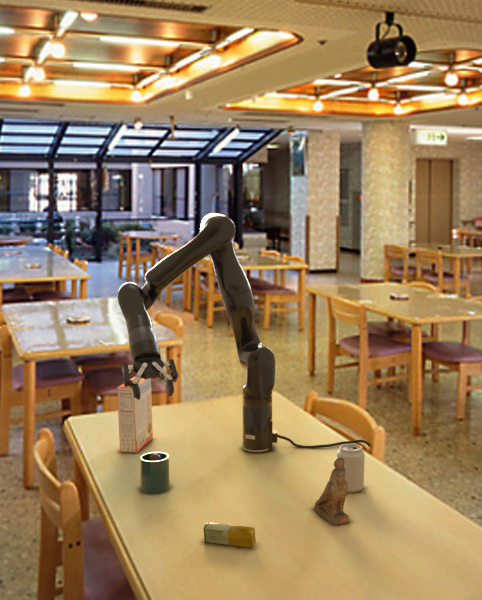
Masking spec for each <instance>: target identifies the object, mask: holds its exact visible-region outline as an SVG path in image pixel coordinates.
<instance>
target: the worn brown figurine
mask: <svg viewBox="0 0 482 600" xmlns="http://www.w3.org/2000/svg"><path fill="white" fill-rule="evenodd" d="M344 462H345V460H344V459H343V458H338V459H337V458H336V459H335V460H334V462H333V467H334V468H333V469H332V471H331V473H330V477H329V480H328V481H327V483H326V484H325V487H324V490H323V491H322V493H321V495H320V496H319V498H318V499H317V500H315V503H314V507H313V510H314V511H315V512H316V513H317V514H319V516H320V517H322V518H323V519H325V520H326V522H328V523H330V525H333V526H339V525H343V524H348V523H350V517H349V515H348V514H347V513H345V512H344V507H345V502H346V498H347V496H348V484H347V482H346V480H345V472H346V471H345V468H344Z"/></svg>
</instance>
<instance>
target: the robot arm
mask: <svg viewBox="0 0 482 600" xmlns="http://www.w3.org/2000/svg"><path fill="white" fill-rule="evenodd" d="M199 230H200V231H199V232H198V234H197V235H196V236H195V237H194V238H192V239H191V240H190V241H188V242H187V243H186V244H185V245H183V246H182V247H180V248H179V249H177V250H175V251H173V252H172V253H170V254H169V255H167V256H165V257H164V258H162V259H161V260H160V261H159V262H157V263H156V264H155V265H154V266H153V267H151V269H149V270H148V271H147V272H146V273H145V274H144V280H145V283H144V285H143V286H142V287H140V286H139V285H138V284H137V283H135V282H132V281H131V282H130V281H129V282H125V283H123V284H122V285H120V287H119V288H118V291H117V295H116V296H117V297H116V299H117V302H118V306H119V308H120V311H121V313H122V316H123V318H124V320H125V324H126V330H127V335H128V346H129V349H130V355H131V359H132V364H128V363H127V362H126V363H123V364H122V369H121V371H122V379H123V384H124V386H125V387H128V386H129V387H131V388H132V390H133V395H134V397H135V398H137V400H139V399H140V391H139V386H138V383H139V382H140V380H141V379H142V378H144V379H149V378H151V379H157V378H158V380H160V381H163V382H164V383H165V386H166V387H165V388H166V391H167V395H168V397H172V396H173V394H174V392H175V388H174V387H175V386H174V383H176V382H177V381H178V378H179V373H178V369H177V367H176V364H175V360H174V359H172V358H170V359H169V360H167V361H163V359H162V357H161V351H160V347H159V342H158V339H157V335H156V333H155V330H154V326H153V320H152V318H151V315H150V313H149V312H148V311H149V309H150V308H151V307H152V306H153V305H154V304H155V302H156V301H157V300H158V299H159V297H160V296H161V295H162V293H163V291H164V290H166V289H167V288H168V287H170V286H171V285H172V284H174V282H176V281H177V280H178V279H179V278H180V277H182V276H183V275H184V274H185V273H186V272H188V271H189V270H190V269H191V268H192V267H194V266H195V265H197V263H199V262H201V261H202V260H203V259H204V258H206V257H208V256H210V258H211V262H212V264H213V269H214V274H215V279H216V282H217V285H218V290H219V294H220V296H221V297H220V298H221V299H222V304H223V306H224V307H223V308H224V310H225V313H226V315H227V319H228V321H229V324H230V327H231V330H232V333H233V336H234V341H235V346H236V351H237V356H238V362H239V363H240V365H241V367H242V368H243V369H244V370H245V371H246V383H245V384H244V385H243V386H242V450H243V451H245V452H248V453H256V454H257V453H266V452H270V451H273V444H276V443H277V444H278V438H279V439H282V440H285V441H287V442H288V443H290V444H291V445H292V446H294V447H295V448H302V449H319V448H331V447H335V446H341V445H343V444H357V443H358V444H359V443H364V444H366V446H372V445H371V443H370V442H369V441H367V440H365V439H354V440H345V441H339V442H334V443H326V444H315V445H314V444H313V445H304V444H303V445H302V444H299V443H296V442H295V441H293V440H292V439H291V438H289V437H287V436H284V435H280V434H278V429H277V428H273V390H274V388H275V384H276V383H275V382H276V357H275V353H274V351H273V350H272V349H270V348H269V347H268V346H266V345H263V343H262V341H261V339H260V337H259V334H258V331H257V328H256V323H255V322H256V321H255V318H256V317H255V316H256V314H255V313H256V310H255V309H256V305H255V303H256V302H255V298H254V294H253V292H252V287H251V285H250V281H249V279H248V278H247V275H246V273H245V271H244V269H243V267H242V265H241V263H240V261H239V259H238V257H237V254H236V251H235V249H234V244H233V239H234V238H235V236H236V225H235V222H234V221H233V220H232V219H231V218H230V217H228V216H227V215H224V214H222V213H219V212H218V213H217V212H211V213H208V214H206V215H205V216H204V217H203V218H202V220H201V223H200V228H199ZM164 367H165V368H166V369H167V370H168V371H169V373H168V372H167V370H165V368H164ZM132 371H133V372H134V373H135V375H134V376H135V378H134V380H130V379H131V378H130V374H131V372H132Z"/></svg>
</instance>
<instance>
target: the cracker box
mask: <svg viewBox="0 0 482 600" xmlns="http://www.w3.org/2000/svg"><path fill="white" fill-rule="evenodd" d="M135 376H136V375H134V376H133V377H131V378H130V380H134V378H135ZM138 386H139V391H140V399H139V400H137V398H135V397H134V395H133V390H132V388H131V387H129V386H128V387H125V386H124V383H122V384H121V385H119V386H117V387H116V393H117V412H118V413H117V414H118V416H117V417H118V436H119V437H118V438H119V453H134V454H137V453H138V452H140V450H142V449H143V448H145V446H146V445H147V444H149V443H150V442H151V441H152V440H153V439H154V431H153V402H152V399H153V398H152V378H149V379H144V378H142V379H141V380H140V382H139V383H138Z"/></svg>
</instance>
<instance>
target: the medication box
mask: <svg viewBox="0 0 482 600" xmlns="http://www.w3.org/2000/svg"><path fill="white" fill-rule="evenodd" d="M203 538H204V539H203V540H204V543H210V544H220V545H228V546H237V547H244V548H251V549H252V548H254V546H255V545H256V542H257V541H256V528H255V527H252V526H244V525H234V524H225V523H217V522H206V523H205V525H204V526H203Z"/></svg>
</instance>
